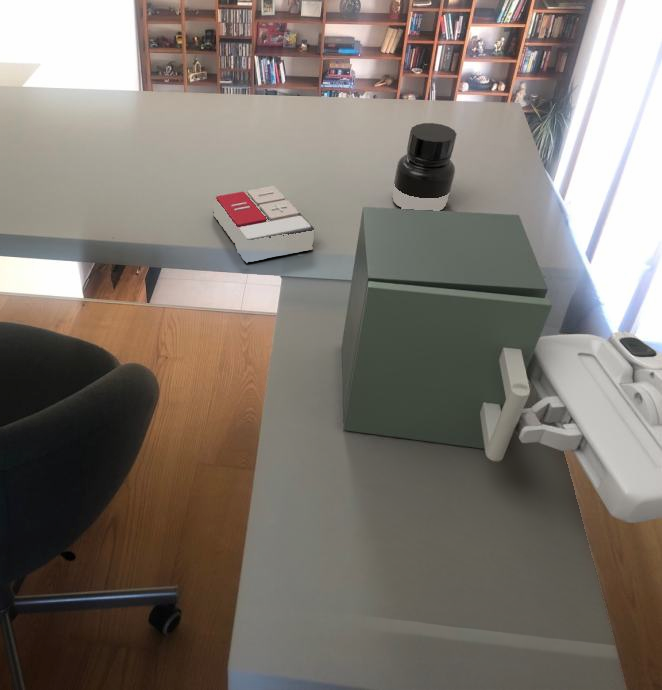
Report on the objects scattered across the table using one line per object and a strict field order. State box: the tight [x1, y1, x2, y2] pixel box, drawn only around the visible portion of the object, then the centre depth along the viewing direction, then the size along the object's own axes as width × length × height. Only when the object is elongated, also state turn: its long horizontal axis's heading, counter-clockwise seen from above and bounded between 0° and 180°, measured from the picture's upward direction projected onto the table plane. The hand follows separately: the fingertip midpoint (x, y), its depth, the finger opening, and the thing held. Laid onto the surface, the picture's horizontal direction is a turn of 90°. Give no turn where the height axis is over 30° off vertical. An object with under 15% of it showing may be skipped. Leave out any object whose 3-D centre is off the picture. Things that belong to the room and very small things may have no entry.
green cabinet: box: [341, 206, 549, 424], centre depth 75 cm, size 13×16×20 cm
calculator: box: [215, 185, 315, 240], centre depth 106 cm, size 11×4×15 cm
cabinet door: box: [342, 281, 553, 462], centre depth 67 cm, size 7×16×20 cm, turn 79°
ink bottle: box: [393, 122, 457, 198], centre depth 109 cm, size 10×9×12 cm
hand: (516, 426), depth 64 cm, fingers closed, pressing on cabinet door
